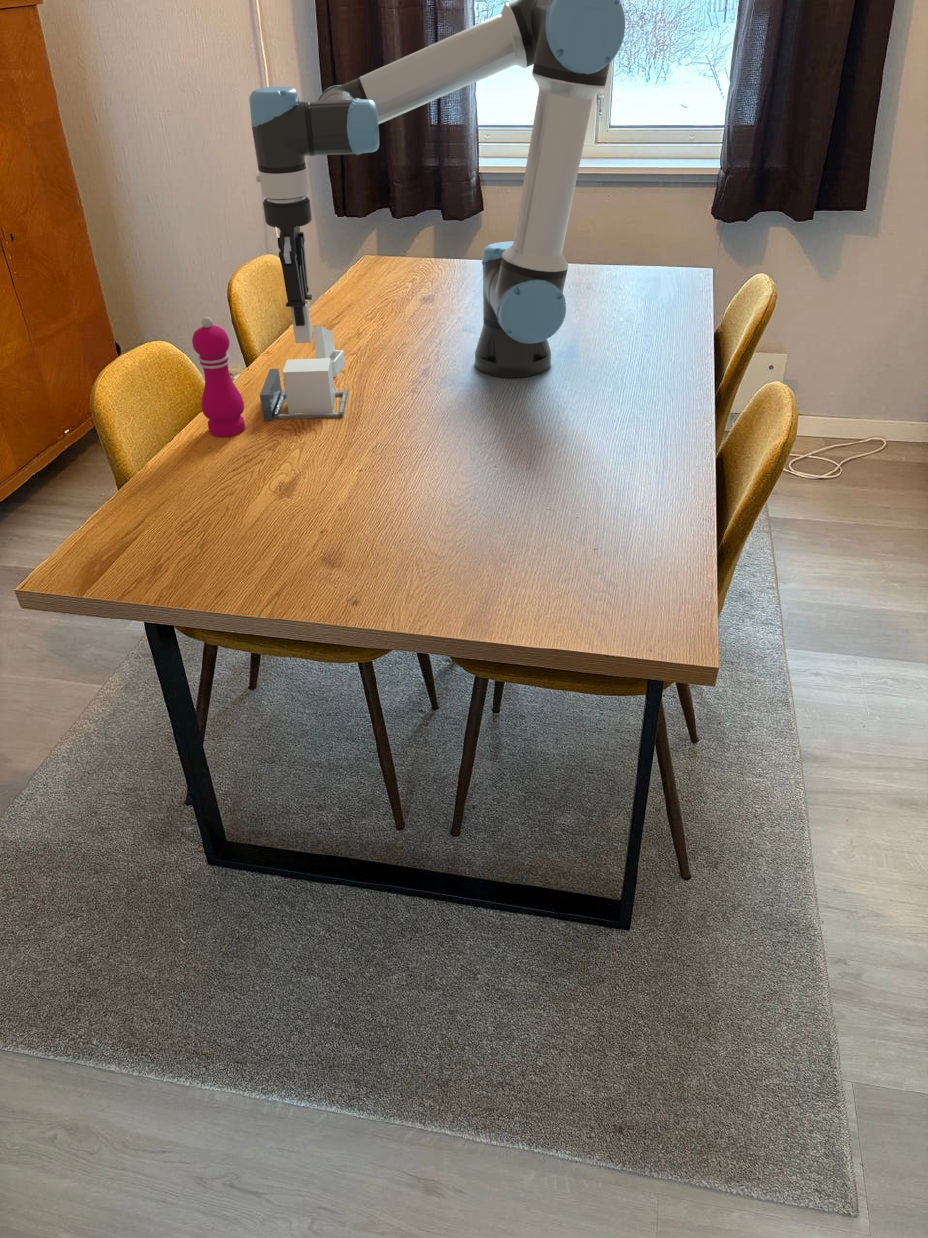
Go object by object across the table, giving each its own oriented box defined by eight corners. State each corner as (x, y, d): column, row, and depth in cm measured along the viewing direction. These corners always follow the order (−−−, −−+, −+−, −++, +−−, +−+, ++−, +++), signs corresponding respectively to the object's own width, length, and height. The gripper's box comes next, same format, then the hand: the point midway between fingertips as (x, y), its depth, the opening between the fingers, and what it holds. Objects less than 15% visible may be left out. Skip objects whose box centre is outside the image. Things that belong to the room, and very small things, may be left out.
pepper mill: (255, 423, 167) (236, 311, 155) (234, 440, 162) (213, 326, 150) (220, 418, 169) (199, 308, 157) (198, 435, 164) (175, 322, 152)
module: (335, 399, 175) (330, 357, 171) (332, 412, 171) (327, 370, 166) (291, 400, 175) (286, 359, 170) (287, 414, 170) (281, 372, 166)
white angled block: (309, 372, 180) (312, 325, 178) (327, 379, 189) (329, 335, 188) (328, 373, 179) (330, 326, 178) (344, 380, 189) (347, 335, 188)
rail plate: (348, 392, 178) (345, 366, 175) (342, 419, 168) (339, 392, 165) (273, 394, 178) (269, 368, 175) (263, 421, 168) (259, 394, 165)
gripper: (269, 187, 157) (288, 327, 171) (255, 208, 146) (277, 355, 160) (314, 186, 157) (329, 325, 171) (303, 207, 146) (321, 354, 160)
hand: (304, 340), depth 165 cm, fingers closed
